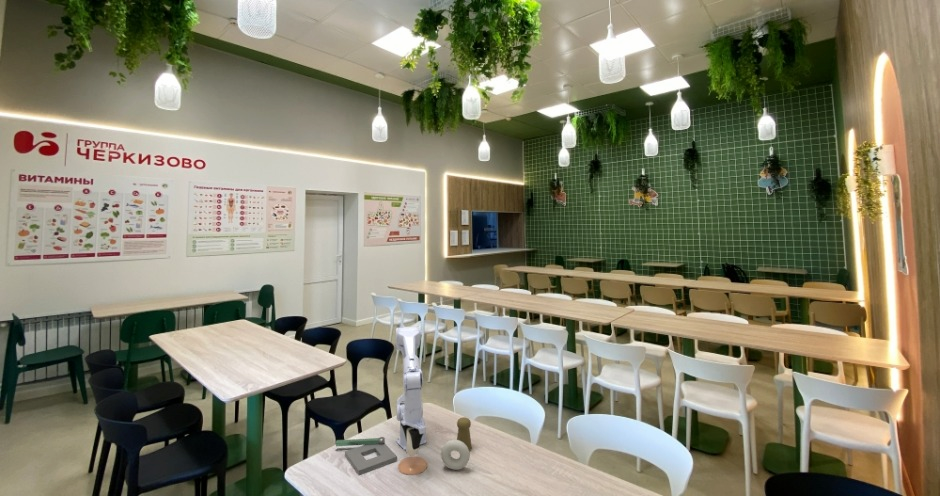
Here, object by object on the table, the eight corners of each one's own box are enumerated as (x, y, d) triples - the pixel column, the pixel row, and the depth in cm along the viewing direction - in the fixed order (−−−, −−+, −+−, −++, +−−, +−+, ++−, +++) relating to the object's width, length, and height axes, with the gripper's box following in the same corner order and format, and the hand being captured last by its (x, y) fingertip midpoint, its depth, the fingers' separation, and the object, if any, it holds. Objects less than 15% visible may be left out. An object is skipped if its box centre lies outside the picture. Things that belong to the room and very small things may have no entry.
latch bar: (384, 441, 147) (384, 436, 146) (384, 444, 144) (384, 440, 144) (336, 443, 144) (336, 439, 144) (335, 447, 142) (335, 442, 142)
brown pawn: (470, 453, 142) (470, 423, 141) (454, 451, 143) (454, 422, 142) (473, 444, 148) (473, 416, 147) (457, 442, 149) (457, 414, 148)
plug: (415, 447, 136) (415, 425, 136) (420, 453, 133) (420, 430, 132) (404, 451, 134) (404, 428, 133) (409, 457, 130) (409, 433, 130)
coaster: (418, 454, 141) (418, 453, 141) (432, 467, 132) (432, 466, 132) (393, 463, 135) (393, 462, 135) (406, 478, 127) (406, 477, 127)
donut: (470, 467, 133) (470, 438, 133) (468, 473, 130) (469, 444, 129) (441, 464, 134) (442, 436, 134) (439, 470, 131) (440, 441, 131)
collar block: (381, 443, 148) (381, 439, 148) (397, 460, 137) (397, 456, 137) (344, 455, 140) (344, 451, 139) (358, 475, 128) (358, 470, 128)
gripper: (393, 402, 136) (393, 439, 137) (412, 418, 125) (412, 459, 125) (410, 397, 140) (410, 433, 141) (431, 412, 129) (431, 452, 129)
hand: (412, 445), depth 133 cm, fingers closed on plug, 4 cm apart
